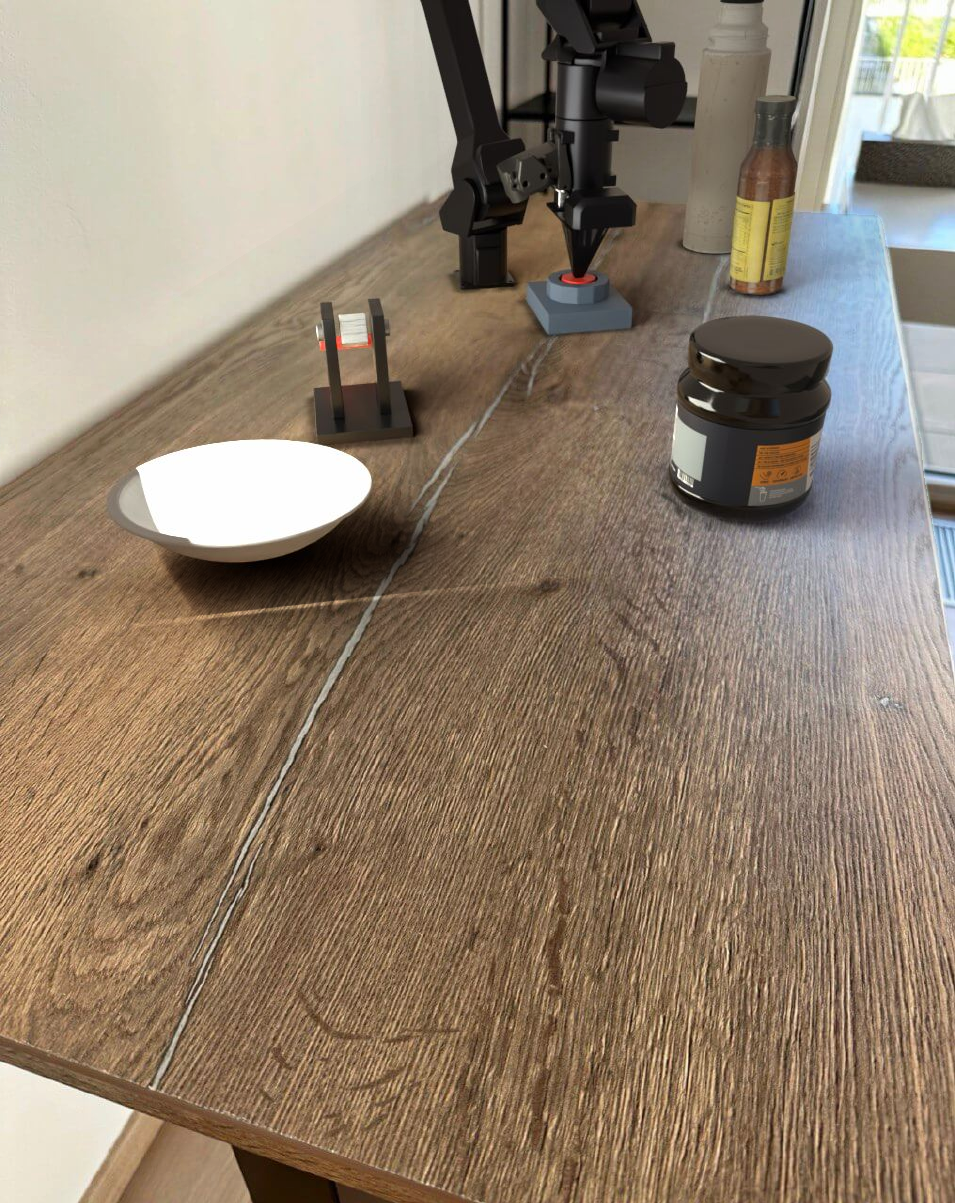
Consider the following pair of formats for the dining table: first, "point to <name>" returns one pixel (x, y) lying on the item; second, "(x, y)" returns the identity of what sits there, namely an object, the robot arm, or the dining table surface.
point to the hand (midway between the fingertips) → (578, 277)
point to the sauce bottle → (765, 201)
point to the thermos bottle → (725, 122)
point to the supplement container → (750, 417)
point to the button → (578, 279)
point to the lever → (352, 332)
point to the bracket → (359, 391)
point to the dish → (240, 498)
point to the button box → (578, 304)
